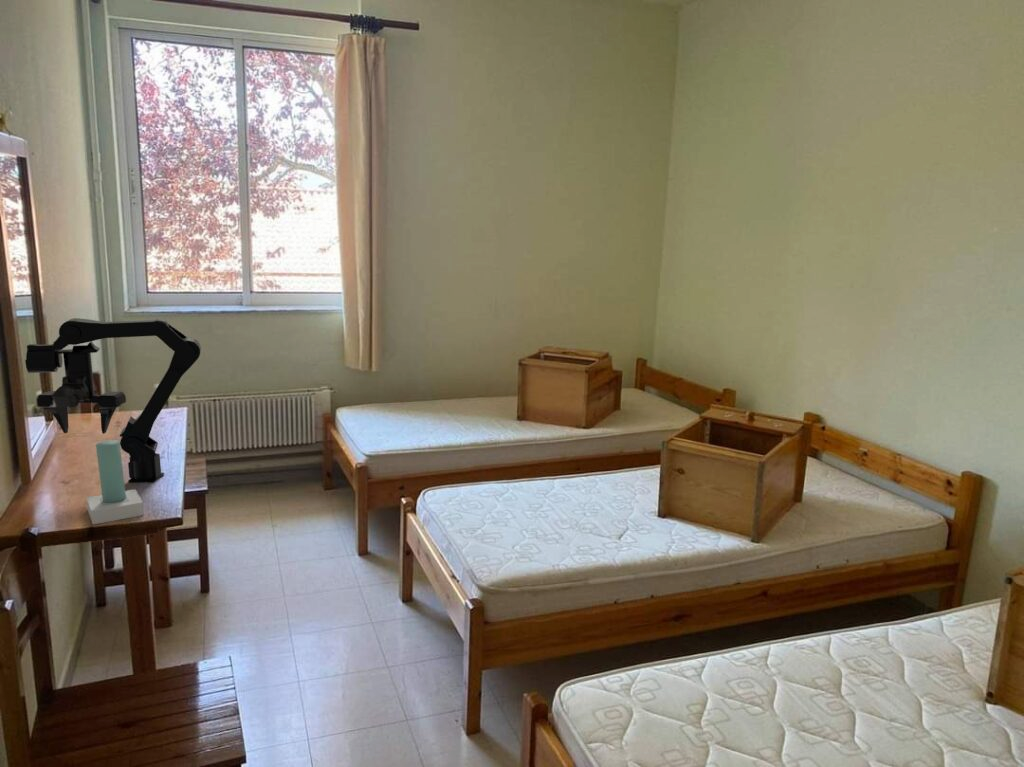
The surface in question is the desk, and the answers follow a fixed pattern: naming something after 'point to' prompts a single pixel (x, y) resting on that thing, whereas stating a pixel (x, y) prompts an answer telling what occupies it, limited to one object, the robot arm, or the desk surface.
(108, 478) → the pillar
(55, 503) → the desk surface
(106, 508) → the plinth
